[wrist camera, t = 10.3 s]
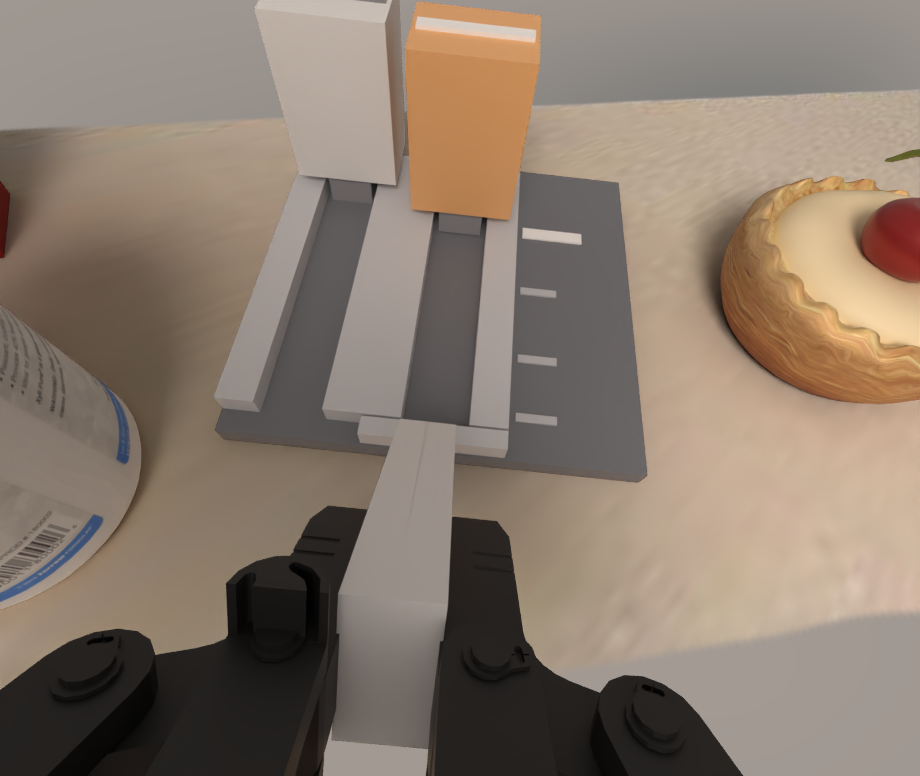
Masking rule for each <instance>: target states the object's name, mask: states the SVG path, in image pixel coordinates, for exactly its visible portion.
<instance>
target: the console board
mask: <svg viewBox="0 0 920 776" xmlns="http://www.w3.org/2000/svg"><path fill="white" fill-rule="evenodd" d="M254 9H255V12H256V16H257V19H258V23H259V27H260V31H261V34H262V38H263V42H264V45H265V49H266V53H267V56H268V60H269V64H270V67H271V71H272V75H273V78H274V82H275V86H276V89H277V93H278V97H279V100H280V104H281V108H282V112H283V115H284V119H285V123H286V126H287V130H288V134H289V137H290V141H291V145H292V148H293V152H294V156H295V159H296V163H297V167H298V171H297V174H296V177H295V179H294V182H293V185H292V187H291V190H290V193H289V195H288V198H287V201H286V203H285V206H284V209H283V211H282V214H281V217H280V219H279V222H278V225H277V228H276V230H275V233H274V236H273V238H272V241H271V244H270V246H269V249H268V252H267V254H266V257H265V260H264V262H263V265H262V268H261V270H260V273H259V276H258V279H257V281H256V284H255V287H254V289H253V292H252V295H251V297H250V300H249V303H248V305H247V308H246V311H245V313H244V316H243V319H242V321H241V324H240V327H239V330H238V332H237V335H236V338H235V340H234V343H233V346H232V348H231V351H230V354H229V356H228V359H227V362H226V364H225V367H224V370H223V372H222V375H221V378H220V381H219V383H218V386H217V389H216V391H215V394H214V397H213V398H214V399H215V400H216V401H217V402H218V404H219V405H220V406H221V407H222V411H221V414H220V416H219V419H218V422H217V425H216V428H215V431H216V432H217V433H218V434H219V435H220V436H221V437H222V438H223V439H228V440H238V441H247V442H257V443H266V444H276V445H285V446H295V447H304V448H314V449H323V450H333V451H342V452H352V453H362V454H371V455H381V456H387V454H388V451H389V448H390V446H391V443H392V440H393V437H394V434H395V431H396V429H397V426H398V423H399V420H400V419H408V420H418V421H427V422H436V423H445V424H455V425H456V437H455V459H454V463H457V464H466V465H476V466H485V467H495V468H504V469H514V470H523V471H533V472H542V473H552V474H561V475H571V476H580V477H590V478H599V479H609V480H618V481H628V482H637V483H638V482H640V481H641V480H642V479H643V478H645V477H646V476H647V466H646V456H645V446H644V436H643V426H642V416H641V406H640V395H639V385H638V375H637V365H636V355H635V345H634V335H633V325H632V314H631V304H630V294H629V284H628V274H627V264H626V254H625V243H624V233H623V223H622V213H621V203H620V193H619V183H616V182H607V181H598V180H589V179H580V178H571V177H562V176H553V175H544V174H535V173H526V172H520V169H519V174H518V180H517V185H516V190H515V195H514V200H513V205H512V211H511V216H510V220H504V219H495V218H486V217H482V220H481V228H480V236H478V235H469V234H460V233H451V232H442V231H439V212H432V211H423V210H414V209H411V197H410V171H409V155H403V152H404V147H405V143H406V142H405V119H404V96H403V74H402V52H401V51H402V50H401V29H400V5H399V0H259V1H258V3H257V5H256V7H255V8H254Z"/></svg>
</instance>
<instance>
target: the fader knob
mask: <svg viewBox="0 0 920 776" xmlns="http://www.w3.org/2000/svg"><path fill="white" fill-rule="evenodd" d="M540 29H541V16H538V15H529V14H521V13H512V12H504V11H495V10H486V9H478V8H469V7H460V6H452V5H443V4H434V3H426V2H417V5H416V8H415V12H414V16H413V20H412V24H411V28H410V31H409V35H408V40H407V43H406V47H405V65H406V90H407V91H406V92H407V118H408V144H409V171H410V197H411V209H414V210H423V211H432V212H439V231H442V232H451V233H460V234H469V235H478V236H480V228H481V220H482V217H486V218H495V219H504V220H510V216H511V211H512V205H513V200H514V195H515V190H516V185H517V180H518V174H519V169H520V164H521V159H522V154H523V149H524V144H525V138H526V133H527V128H528V123H529V118H530V113H531V108H532V102H533V97H534V92H535V87H536V82H537V77H538V71H539V66H540Z"/></svg>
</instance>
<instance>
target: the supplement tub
mask: <svg viewBox="0 0 920 776" xmlns="http://www.w3.org/2000/svg"><path fill="white" fill-rule="evenodd" d="M140 469H141V442H140V436H139V431H138V428H137V425H136V422H135V419H134V418H133V416H132V414H131V412H130V410H129V409H128V408H127V406H126V405H125V404H124V402H123V401H122V400H121V399H120V398H119V397H118V396H117V395H116V394H115V393H114V392H113V391H111V390H110V389H109V388H108V387H106V386H105V385H104V384H103V383H102V382H100V381H99V380H98V379H97V378H95V377H94V376H93V375H91V374H90V373H89V372H87V371H86V370H85V369H84V368H82V367H81V366H80V365H78V364H77V363H76V362H74V361H73V360H72V359H70V358H69V357H68V356H67V355H65V354H64V353H63V352H61V351H60V350H59V349H58V348H56V347H55V346H54V345H52V344H51V343H50V342H49V341H47V340H46V339H45V338H43V337H42V336H41V335H39V334H38V333H37V332H36V331H34V330H33V329H32V328H30V327H29V326H28V325H27V324H25V323H24V322H23V321H21V320H20V319H19V318H18V317H16V316H15V315H14V314H12V313H11V312H10V311H9V310H7V309H6V308H5V307H3V306H2V305H1V304H0V609H4V608H7V607H10V606H12V605H15V604H18V603H20V602H23V601H25V600H28V599H30V598H32V597H34V596H36V595H38V594H40V593H42V592H44V591H46V590H47V589H49V588H51V587H52V586H54V585H56V584H57V583H59V582H61V581H62V580H64V579H65V578H67V577H68V576H69V575H71V574H72V573H73V572H74V571H76V570H77V569H78V568H79V567H80V566H82V565H83V564H84V563H85V562H86V561H87V560H88V559H89V558H91V557H92V556H93V555H94V554H95V553H96V552H97V550H98V549H99V548H100V547H101V546H102V545H103V544H104V543H105V542H106V541H107V539H108V538H109V537H110V536H111V534H112V533H113V532H114V530H115V529H116V528H117V526H118V525H119V523H120V522H121V520H122V518H123V517H124V515H125V513H126V511H127V509H128V508H129V505H130V503H131V501H132V498H133V496H134V494H135V491H136V488H137V485H138V482H139V476H140Z"/></svg>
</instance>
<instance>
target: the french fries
mask: <svg viewBox="0 0 920 776" xmlns="http://www.w3.org/2000/svg"><path fill="white" fill-rule="evenodd" d="M9 201H10V193H9V192H8V190H7V189H6V188H5V186H4V185H3V184H2V182H1V181H0V258H3V257H4V251H5V241H6V231H7V221H8V211H9Z"/></svg>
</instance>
